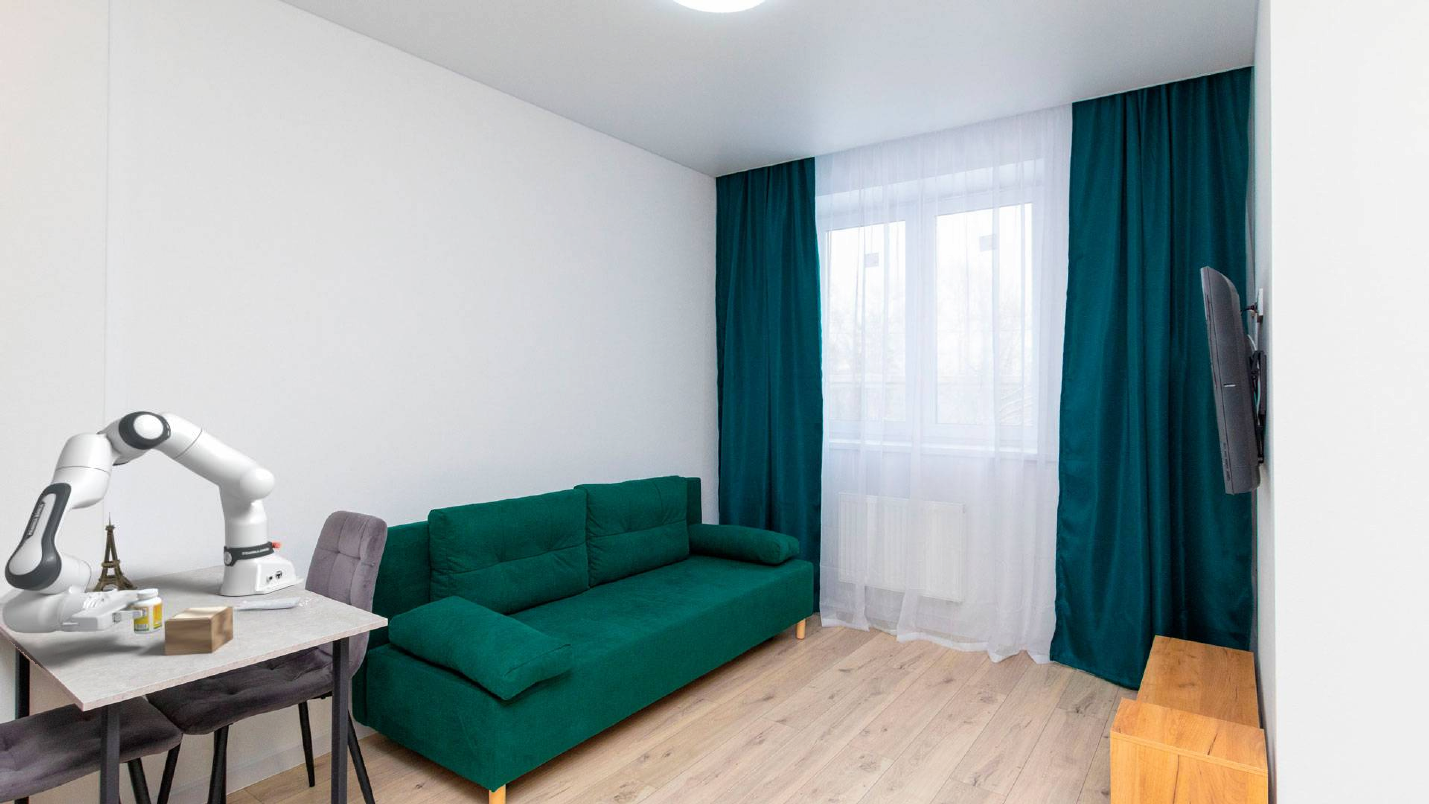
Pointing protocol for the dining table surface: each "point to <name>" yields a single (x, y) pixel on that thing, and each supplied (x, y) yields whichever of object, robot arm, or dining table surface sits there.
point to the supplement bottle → (148, 612)
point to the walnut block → (198, 630)
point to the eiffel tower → (112, 566)
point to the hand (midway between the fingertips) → (151, 609)
